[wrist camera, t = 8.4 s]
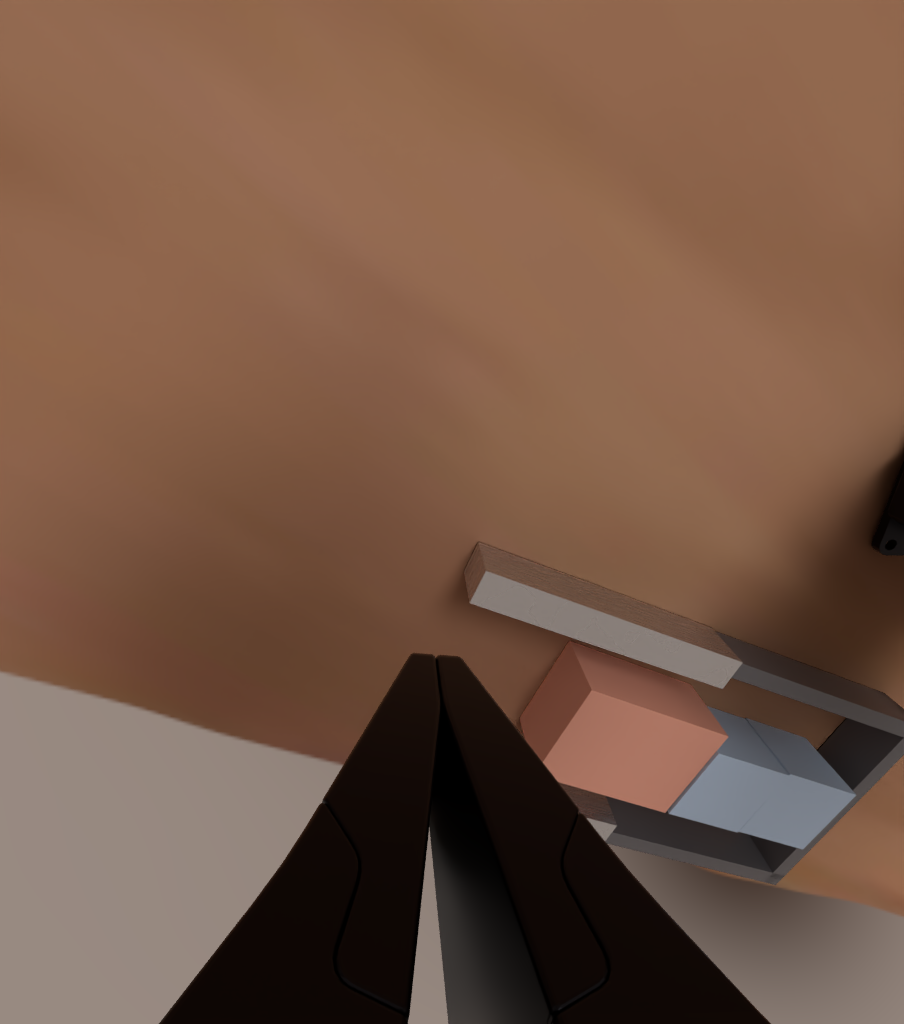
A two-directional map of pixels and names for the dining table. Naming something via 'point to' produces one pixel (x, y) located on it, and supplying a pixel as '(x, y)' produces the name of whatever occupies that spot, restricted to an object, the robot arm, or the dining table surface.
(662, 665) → the slot rails
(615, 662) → the block
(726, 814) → the blue cube
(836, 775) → the blue-grey cube
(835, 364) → the dining table surface
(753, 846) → the chip tray
